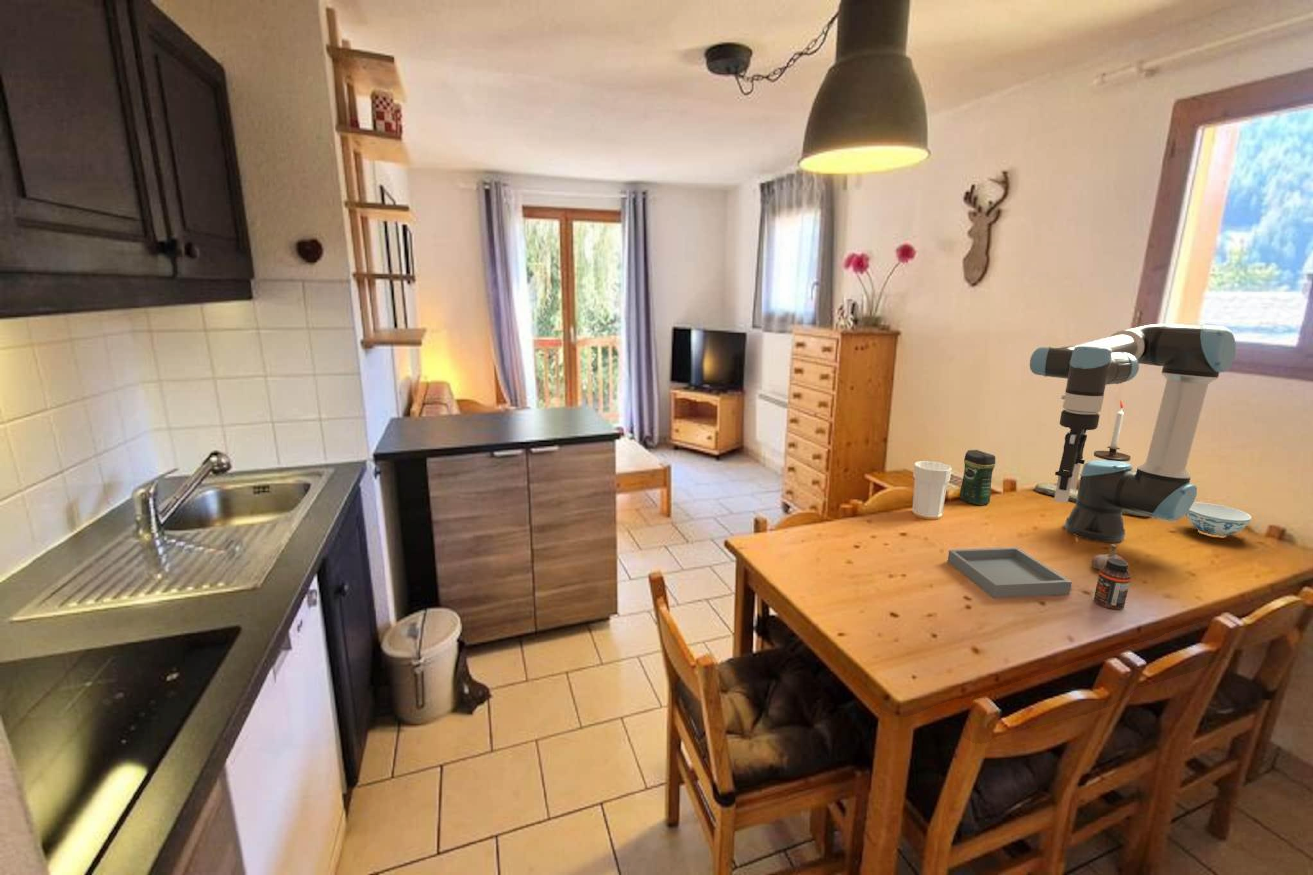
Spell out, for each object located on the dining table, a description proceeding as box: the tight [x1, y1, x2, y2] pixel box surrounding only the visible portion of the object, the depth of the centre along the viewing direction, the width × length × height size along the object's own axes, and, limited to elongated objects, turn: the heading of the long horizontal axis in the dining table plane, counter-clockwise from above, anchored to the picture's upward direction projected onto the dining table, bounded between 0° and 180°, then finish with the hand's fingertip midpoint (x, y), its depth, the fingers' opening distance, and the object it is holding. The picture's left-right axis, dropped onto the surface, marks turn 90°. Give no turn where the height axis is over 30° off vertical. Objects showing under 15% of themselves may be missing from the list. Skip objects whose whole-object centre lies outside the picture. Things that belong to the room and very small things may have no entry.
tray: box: [947, 546, 1072, 599], centre depth 153 cm, size 20×20×4 cm
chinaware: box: [1185, 501, 1252, 536], centre depth 180 cm, size 15×15×8 cm
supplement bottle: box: [1093, 558, 1132, 610], centre depth 139 cm, size 6×6×11 cm
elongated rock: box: [1034, 482, 1149, 518], centre depth 207 cm, size 35×5×10 cm
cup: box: [911, 460, 952, 521], centre depth 194 cm, size 11×11×17 cm
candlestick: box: [1093, 400, 1132, 462], centre depth 215 cm, size 11×11×35 cm
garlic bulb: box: [1090, 543, 1125, 571], centre depth 156 cm, size 8×7×8 cm
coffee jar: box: [959, 449, 996, 506], centre depth 207 cm, size 10×8×19 cm
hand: (1065, 494), depth 144 cm, fingers open, 13 cm apart
